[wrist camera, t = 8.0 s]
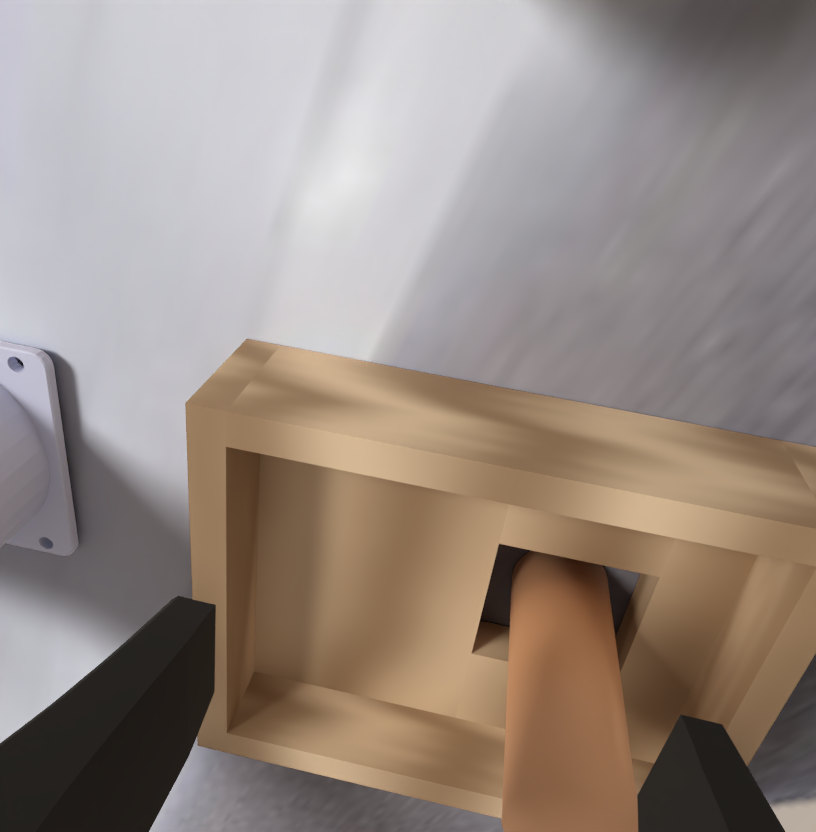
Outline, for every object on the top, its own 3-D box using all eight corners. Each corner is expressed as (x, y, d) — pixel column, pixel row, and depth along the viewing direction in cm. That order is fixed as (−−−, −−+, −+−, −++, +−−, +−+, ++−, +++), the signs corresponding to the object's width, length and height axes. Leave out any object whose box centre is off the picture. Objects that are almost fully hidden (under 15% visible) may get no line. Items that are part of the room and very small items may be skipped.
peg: (501, 604, 23) (488, 846, 16) (524, 534, 22) (520, 769, 15) (591, 626, 23) (615, 880, 16) (620, 557, 22) (661, 805, 15)
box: (242, 652, 26) (197, 745, 23) (246, 339, 20) (185, 402, 17) (668, 749, 25) (688, 863, 22) (819, 448, 19) (883, 542, 15)
